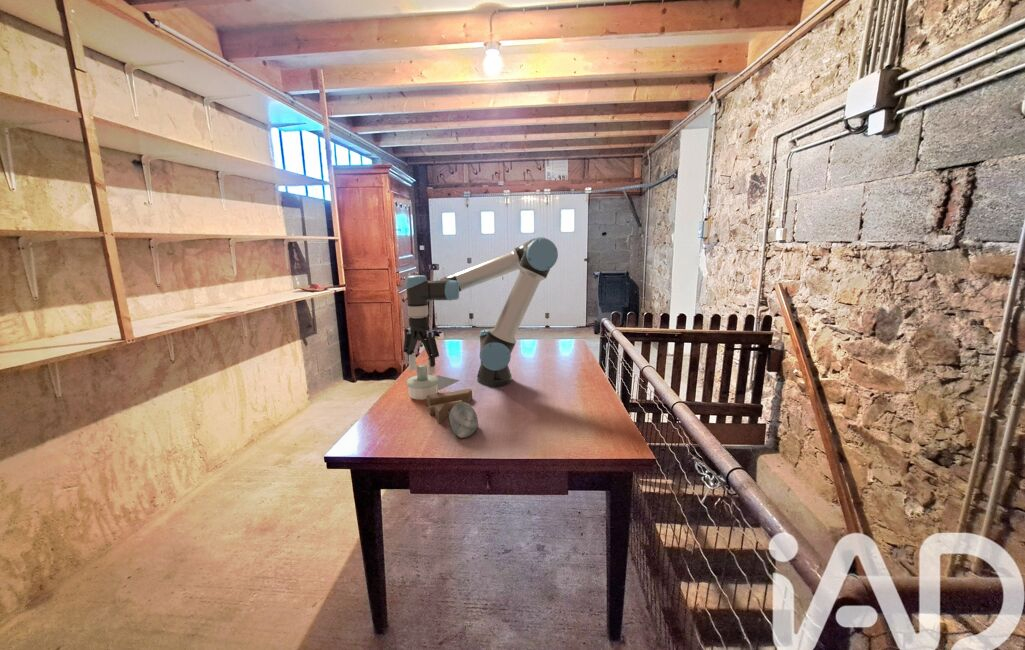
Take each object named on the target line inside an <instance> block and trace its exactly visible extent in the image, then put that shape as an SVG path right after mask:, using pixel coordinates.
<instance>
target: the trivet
mask: <svg viewBox="0 0 1025 650" xmlns="http://www.w3.org/2000/svg"><path fill="white" fill-rule="evenodd" d="M436 376H437V377H438V391H441V390H442V389H444V388H446V387H448V386H451V385H453V384H455V383H457V382H460V381H461V380H460V379H455V378H451V377H447V376H442V375H439V374H438V375H436Z"/></svg>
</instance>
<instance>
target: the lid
mask: <svg viewBox="0 0 1025 650" xmlns="http://www.w3.org/2000/svg"><path fill="white" fill-rule="evenodd" d="M436 384H438V377H437V375H434V374H432V375H428V364H418V365H416V375H413V376H410V377H409V378H408V379H407V380H406V386H407V388H408V387H410V388H415V389H422V388H429V387H432V386H435V385H436Z"/></svg>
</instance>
